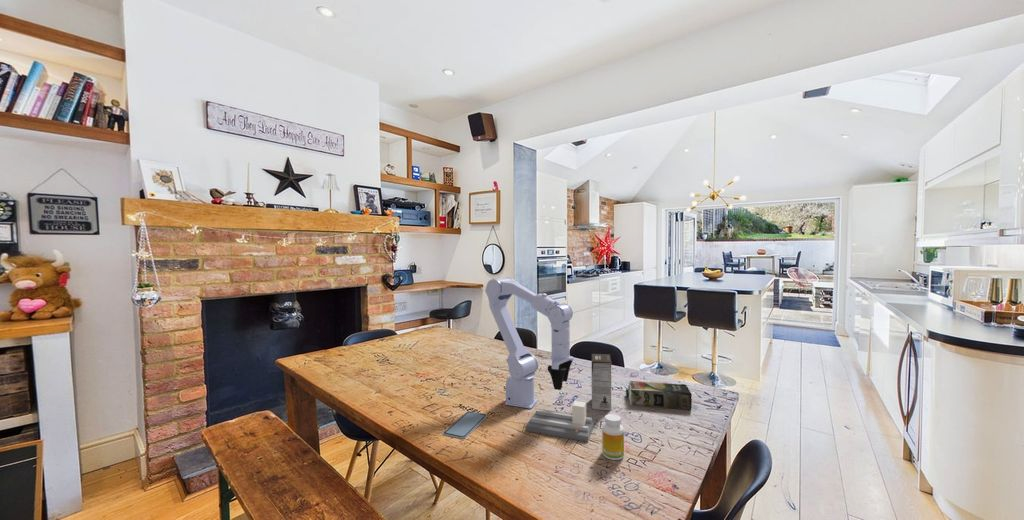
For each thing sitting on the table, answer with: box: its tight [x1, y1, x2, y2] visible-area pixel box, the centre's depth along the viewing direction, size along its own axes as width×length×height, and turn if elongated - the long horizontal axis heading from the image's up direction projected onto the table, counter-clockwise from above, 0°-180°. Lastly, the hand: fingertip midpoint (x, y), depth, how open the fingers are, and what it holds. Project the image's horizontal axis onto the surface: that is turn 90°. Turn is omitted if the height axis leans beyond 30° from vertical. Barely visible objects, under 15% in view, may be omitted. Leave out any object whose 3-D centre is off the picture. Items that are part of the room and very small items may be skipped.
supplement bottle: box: [601, 413, 625, 461], centre depth 93 cm, size 5×5×10 cm
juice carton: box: [625, 380, 693, 411], centre depth 126 cm, size 20×10×6 cm, turn 76°
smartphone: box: [442, 410, 488, 440], centre depth 110 cm, size 7×1×15 cm
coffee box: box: [591, 353, 612, 411], centre depth 124 cm, size 9×6×16 cm
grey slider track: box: [525, 408, 596, 443], centre depth 109 cm, size 18×12×2 cm, turn 69°
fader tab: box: [571, 400, 587, 426], centre depth 107 cm, size 3×4×6 cm
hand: (560, 385), depth 117 cm, fingers open, 7 cm apart
